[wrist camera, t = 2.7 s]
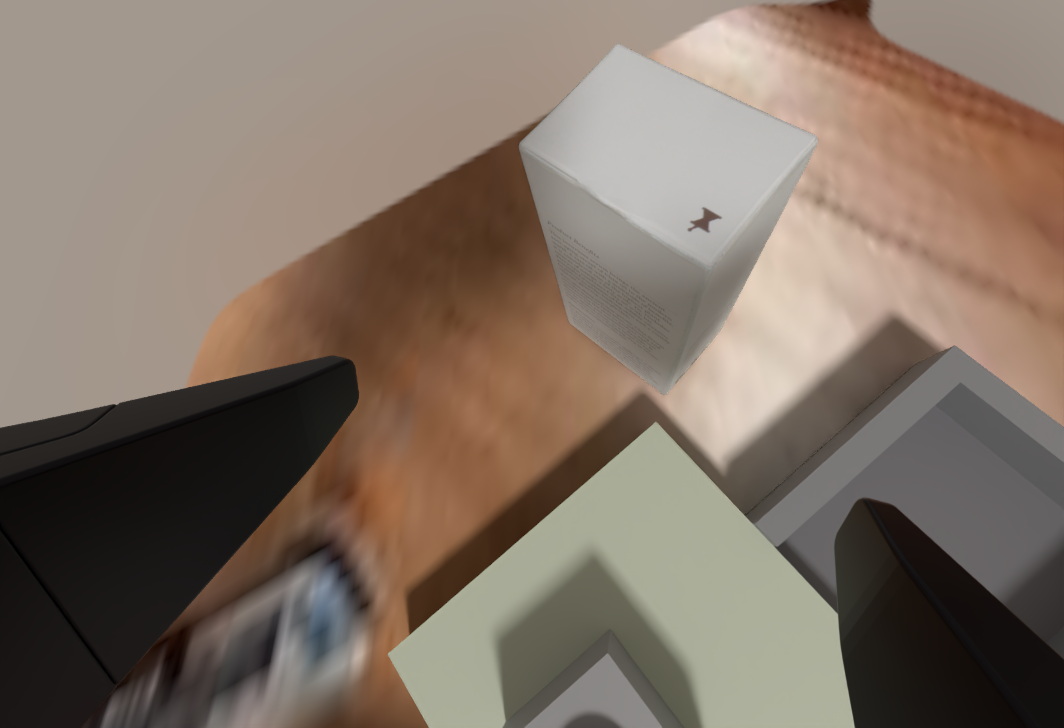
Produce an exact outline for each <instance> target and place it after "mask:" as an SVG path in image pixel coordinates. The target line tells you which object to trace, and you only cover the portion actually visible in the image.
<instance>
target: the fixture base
mask: <svg viewBox="0 0 1064 728" xmlns="http://www.w3.org/2000/svg"><path fill="white" fill-rule="evenodd" d="M862 497H867V498H871V499H875V500H879V501H883V502H886V503H890V504H892V505H894V506H895V507H897V508H898V509H899V510H900V511H901V512H902V513H903V514H904V515H906V516H907V517H908V518H909V519H910V520H911V521H912V522H913V523H914V524H916V525H917V526H918V527H919V528H920V529H921V530H922V531H923V532H924V533H925V534H927V535H928V536H929V537H930V538H931V539H932V540H933V541H934V542H935V543H937V544H938V545H939V546H940V547H941V548H942V549H943V550H944V551H945V552H946V553H948V554H949V555H950V556H951V557H952V558H953V559H954V560H955V561H956V562H958V563H959V564H960V565H961V566H962V567H963V568H964V569H965V570H966V571H967V572H969V573H970V574H971V575H972V576H973V577H974V578H975V579H976V580H977V581H978V582H980V583H981V584H982V585H983V586H984V587H985V588H986V589H987V590H988V591H990V592H991V593H992V594H993V595H994V596H995V597H996V598H997V599H998V600H999V601H1001V602H1002V603H1003V604H1004V605H1005V606H1006V607H1007V608H1008V609H1009V610H1011V611H1012V612H1013V613H1014V614H1015V615H1016V616H1017V617H1018V618H1019V619H1020V620H1022V621H1023V622H1024V623H1025V624H1026V625H1027V626H1028V627H1029V628H1030V629H1032V630H1033V631H1034V632H1035V633H1036V634H1037V635H1038V636H1039V637H1040V638H1041V639H1043V640H1044V641H1045V642H1046V643H1047V644H1048V645H1049V646H1050V647H1051V648H1053V649H1054V650H1055V651H1056V652H1057V653H1058V654H1059V655H1060V656H1061V657H1062V658H1064V427H1063V426H1061V425H1060V424H1059V423H1057V422H1056V421H1055V420H1053V419H1052V418H1051V417H1049V416H1048V415H1047V414H1045V413H1044V412H1043V411H1041V410H1040V409H1039V408H1037V407H1036V406H1035V405H1034V404H1032V403H1031V402H1030V401H1028V400H1027V399H1026V398H1024V397H1023V396H1022V395H1020V394H1019V393H1018V392H1016V391H1015V390H1014V389H1012V388H1011V387H1010V386H1008V385H1007V384H1006V383H1004V382H1003V381H1002V380H1000V379H999V378H998V377H996V376H995V375H994V374H992V373H991V372H990V371H988V370H987V369H986V368H984V367H983V366H982V365H980V364H979V363H978V362H976V361H975V360H974V359H972V358H971V357H970V356H968V355H967V354H966V353H964V352H963V351H962V350H960V349H959V348H958V347H956V346H955V345H954V346H952V347H950V348H948V349H946V350H944V351H942V352H940V353H938V354H936V355H934V356H932V357H930V358H928V359H926V360H923V361H921V362H919V363H917V364H915V365H914V366H913V367H912V368H911V369H910V370H908V371H907V372H906V373H905V374H904V375H903V376H902V377H901V378H899V379H898V380H897V381H896V382H895V383H894V384H893V385H892V386H890V387H889V388H888V389H887V390H886V391H885V392H884V393H883V394H881V395H880V396H879V397H878V398H877V399H876V400H875V401H874V402H872V403H871V404H870V405H869V406H868V407H867V408H866V409H865V410H863V411H862V412H861V413H860V414H859V415H858V416H857V417H856V418H855V419H853V420H852V421H851V422H850V423H849V424H848V425H847V426H846V427H844V428H843V429H842V430H841V431H840V432H839V433H838V434H837V435H835V436H834V437H833V438H832V439H831V440H830V441H829V442H828V443H826V444H825V445H824V446H823V447H822V448H821V449H820V450H819V451H817V452H816V453H815V454H814V455H813V456H812V457H811V458H810V459H808V460H807V461H806V462H805V463H804V464H803V465H802V466H801V467H800V468H798V469H797V470H796V471H795V472H794V473H793V474H792V475H791V476H789V477H788V478H787V479H786V480H785V481H784V482H783V483H782V484H780V485H779V486H778V487H777V488H776V489H775V490H774V491H773V492H771V493H770V494H769V495H768V496H767V497H766V498H765V499H764V500H762V501H761V502H760V503H759V504H758V505H757V506H756V507H755V508H753V509H752V510H751V511H750V512H749V513H748V514H747V515H746V516H745V515H744V514H743V513H742V512H741V511H740V510H739V509H738V508H737V507H736V506H735V505H734V504H733V503H732V502H731V501H730V500H729V498H728V497H727V496H726V495H725V494H724V493H723V492H722V491H721V490H720V489H719V488H718V487H717V486H716V485H715V484H714V483H713V482H712V480H711V479H710V478H709V477H708V476H707V475H706V474H705V473H704V472H703V471H702V470H701V469H700V468H699V467H698V466H697V465H696V464H695V462H694V461H693V460H692V459H691V458H690V457H689V456H688V455H687V454H686V453H685V452H684V451H683V450H682V449H681V448H680V447H679V446H678V444H677V443H676V442H675V441H674V440H673V439H672V438H671V437H670V436H669V435H668V434H667V433H666V432H665V431H664V430H663V429H662V428H661V426H660V425H659V424H658V423H657V422H655V423H654V424H653V425H652V426H650V427H649V428H648V429H647V430H646V431H645V432H644V433H642V434H641V435H640V436H639V437H638V438H637V439H635V440H634V441H633V442H632V443H631V444H630V445H629V446H627V447H626V448H625V449H624V450H623V451H622V452H620V453H619V454H618V455H617V456H616V457H615V458H614V459H612V460H611V461H610V462H609V463H608V464H607V465H605V466H604V467H603V468H602V469H601V470H600V471H599V472H597V473H596V474H595V475H594V476H593V477H592V478H590V479H589V480H588V481H587V482H586V483H585V484H584V485H582V486H581V487H580V488H579V489H578V490H577V491H575V492H574V493H573V494H572V495H571V496H570V497H568V498H567V499H566V500H565V501H564V502H563V503H562V504H560V505H559V506H558V507H557V508H556V509H555V510H553V511H552V512H551V513H550V514H549V515H548V516H547V517H545V518H544V519H543V520H542V521H541V522H540V523H538V524H537V525H536V526H535V527H534V528H533V529H532V530H530V531H529V532H528V533H527V534H526V535H525V536H523V537H522V538H521V539H520V540H519V541H518V542H517V543H515V544H514V545H513V546H512V547H511V548H510V549H508V550H507V551H506V552H505V553H504V554H503V555H502V556H500V557H499V558H498V559H497V560H496V561H495V562H493V563H492V564H491V565H490V566H489V567H488V568H487V569H485V570H484V571H483V572H482V573H481V574H480V575H478V576H477V577H476V578H475V579H474V580H473V581H472V582H470V583H469V584H468V585H467V586H466V587H465V588H463V589H462V590H461V591H460V592H459V593H458V594H457V595H455V596H454V597H453V598H452V599H451V600H450V601H448V602H447V603H446V604H445V605H444V606H443V607H442V608H440V609H439V610H438V611H437V612H436V613H435V614H433V615H432V616H431V617H430V618H429V619H428V620H427V621H425V622H424V623H423V624H422V625H421V626H420V627H418V628H417V629H416V630H415V631H414V632H413V633H412V634H410V635H409V636H408V637H407V638H406V639H405V640H403V641H402V642H401V643H400V644H399V645H398V646H397V647H395V648H394V649H393V650H392V651H391V652H390V653H388V656H389V657H390V659H391V661H392V663H393V664H394V666H395V668H396V670H397V672H398V673H399V675H400V677H401V679H402V680H403V682H404V684H405V686H406V688H407V689H408V691H409V693H410V695H411V697H412V698H413V700H414V702H415V704H416V705H417V707H418V709H419V711H420V713H421V714H422V716H423V718H424V720H425V721H426V723H427V725H428V727H429V728H855V726H854V721H853V715H852V710H851V704H850V699H849V693H848V688H847V682H846V677H845V671H844V666H843V660H842V653H841V647H840V637H839V625H838V608H837V591H836V574H835V557H834V541H835V537H836V534H837V532H838V530H839V528H840V527H841V525H842V523H843V522H844V520H845V518H846V517H847V515H848V513H849V511H850V510H851V508H852V506H853V505H854V503H855V502H856V501H857V500H858V499H859V498H862Z"/></svg>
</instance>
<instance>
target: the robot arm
mask: <svg viewBox="0 0 1064 728" xmlns="http://www.w3.org/2000/svg"><path fill="white" fill-rule="evenodd" d="M358 399H359V390H358V383H357V376H356V369H355V365H354V363H353V362H352V361H351V360H349V359H346V358H342V357H338V356H327V357H323V358H318V359H314V360H309V361H305V362H301V363H296V364H292V365H287V366H283V367H278V368H274V369H269V370H265V371H260V372H256V373H251V374H247V375H242V376H238V377H233V378H229V379H224V380H220V381H216V382H211V383H207V384H202V385H198V386H193V387H189V388H184V389H180V390H175V391H171V392H166V393H162V394H157V395H153V396H148V397H144V398H140V399H135V400H130V401H126V402H122V403H119V404H118V405H115V404H112V405H108V406H103V407H99V408H94V409H90V410H85V411H81V412H76V413H71V414H67V415H62V416H58V417H52V418H48V419H43V420H38V421H33V422H27V423H22V424H17V425H12V426H7V427H2V428H0V728H81V727H82V726H83V724H84V723H85V722H86V721H87V720H88V719H89V718H90V717H91V715H92V714H93V713H94V712H95V711H96V710H97V709H98V708H99V706H100V705H101V704H102V703H103V702H104V701H105V700H106V699H107V697H108V696H109V695H110V694H111V693H112V692H113V691H114V690H115V688H116V684H119V683H120V682H121V681H122V680H123V679H124V678H125V677H126V675H127V674H128V673H129V672H130V671H131V670H132V669H133V668H134V666H135V665H136V664H137V663H138V662H139V661H140V660H141V659H142V657H143V656H144V655H145V654H146V653H147V652H148V651H149V650H150V648H151V647H152V646H153V645H154V644H155V643H156V642H157V641H158V639H159V638H160V637H161V636H162V635H163V634H164V633H165V631H166V630H167V629H168V628H169V627H170V626H171V625H172V624H173V622H174V621H175V620H176V619H177V618H178V617H179V616H180V615H181V613H182V612H183V611H184V610H185V609H186V608H187V607H188V606H189V604H190V603H191V602H192V601H193V600H194V599H195V598H196V597H197V595H198V594H199V593H200V592H201V591H202V590H203V589H204V588H205V586H206V585H207V584H208V583H209V582H210V581H211V580H212V579H213V577H214V576H215V575H216V574H217V573H218V572H219V571H220V570H221V568H222V567H223V566H224V565H225V564H226V563H227V562H228V560H229V559H230V558H231V557H232V556H233V555H234V554H235V553H236V551H237V550H238V549H239V548H240V547H241V546H242V545H243V544H244V542H245V541H246V540H247V539H248V538H249V537H250V536H251V535H252V533H253V532H254V531H255V530H256V529H257V528H258V527H259V526H260V524H261V523H262V522H263V521H264V520H265V519H266V518H267V517H268V515H269V514H270V513H271V512H272V511H273V510H274V509H275V508H276V506H277V505H278V504H279V503H280V502H281V501H282V500H283V499H284V497H285V496H286V495H287V494H288V493H289V492H290V491H291V489H292V488H293V487H294V486H295V485H296V484H297V483H298V482H299V480H300V479H301V478H302V477H303V476H304V475H305V474H306V472H307V471H308V470H309V469H310V468H311V467H312V465H313V464H314V463H315V462H316V460H317V459H318V458H319V456H320V455H321V454H322V452H323V451H324V450H325V448H326V447H327V445H328V444H329V443H330V441H331V440H332V438H333V437H334V436H335V434H336V433H337V432H338V430H339V429H340V427H341V426H342V425H343V423H344V422H345V421H346V419H347V418H348V416H349V415H350V414H351V412H352V411H353V410H354V408H355V407H356V405H357V403H358ZM834 557H835V574H836V591H837V608H838V625H839V637H840V647H841V653H842V660H843V666H844V671H845V677H846V682H847V688H848V693H849V699H850V704H851V710H852V715H853V721H854V726H855V728H1064V658H1062V657H1061V656H1060V655H1059V654H1058V653H1057V652H1056V651H1055V650H1054V649H1053V648H1051V647H1050V646H1049V645H1048V644H1047V643H1046V642H1045V641H1044V640H1043V639H1041V638H1040V637H1039V636H1038V635H1037V634H1036V633H1035V632H1034V631H1033V630H1032V629H1030V628H1029V627H1028V626H1027V625H1026V624H1025V623H1024V622H1023V621H1022V620H1020V619H1019V618H1018V617H1017V616H1016V615H1015V614H1014V613H1013V612H1012V611H1011V610H1009V609H1008V608H1007V607H1006V606H1005V605H1004V604H1003V603H1002V602H1001V601H999V600H998V599H997V598H996V597H995V596H994V595H993V594H992V593H991V592H990V591H988V590H987V589H986V588H985V587H984V586H983V585H982V584H981V583H980V582H978V581H977V580H976V579H975V578H974V577H973V576H972V575H971V574H970V573H969V572H967V571H966V570H965V569H964V568H963V567H962V566H961V565H960V564H959V563H958V562H956V561H955V560H954V559H953V558H952V557H951V556H950V555H949V554H948V553H946V552H945V551H944V550H943V549H942V548H941V547H940V546H939V545H938V544H937V543H935V542H934V541H933V540H932V539H931V538H930V537H929V536H928V535H927V534H925V533H924V532H923V531H922V530H921V529H920V528H919V527H918V526H917V525H916V524H914V523H913V522H912V521H911V520H910V519H909V518H908V517H907V516H906V515H904V514H903V513H902V512H901V511H900V510H899V509H898V508H897V507H895V506H894V505H892V504H890V503H886V502H883V501H879V500H875V499H871V498H867V497H862V498H859V499H858V500H857V501H856V502H855V503H854V505H853V506H852V508H851V510H850V511H849V513H848V515H847V517H846V518H845V520H844V522H843V523H842V525H841V527H840V528H839V530H838V532H837V534H836V537H835V541H834Z"/></svg>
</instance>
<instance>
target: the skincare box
mask: <svg viewBox="0 0 1064 728" xmlns="http://www.w3.org/2000/svg"><path fill="white" fill-rule="evenodd" d="M817 142H818V139H817V137H816V136H815V135H813V134H811V133H809V132H807V131H805V130H803V129H800V128H798V127H796V126H793V125H791V124H789V123H787V122H784V121H782V120H780V119H778V118H776V117H773V116H771V115H769V114H767V113H765V112H763V111H761V110H759V109H756V108H754V107H752V106H750V105H747V104H745V103H743V102H741V101H739V100H737V99H735V98H733V97H731V96H728V95H726V94H724V93H722V92H720V91H718V90H716V89H714V88H711V87H709V86H707V85H705V84H703V83H701V82H699V81H697V80H694V79H692V78H690V77H688V76H686V75H684V74H681V73H679V72H677V71H675V70H673V69H671V68H668V67H666V66H664V65H662V64H660V63H658V62H656V61H654V60H652V59H650V58H647V57H645V56H643V55H641V54H639V53H637V52H634V51H632V50H630V49H628V48H627V47H625V46H623V45H621V44H617V45H615V46H614V47H613V48H612V49H611V51H610V52H609V53H608V54H607V55H606V56H605V57H604V58H603V59H602V60H601V61H600V62H599V63H598V64H597V65H596V66H595V67H594V68H593V69H592V71H591V72H590V73H589V74H588V75H587V76H586V77H585V78H584V79H583V80H582V81H581V82H580V83H579V84H578V85H577V86H576V88H574V89H573V90H572V91H571V92H570V93H569V94H568V95H567V96H566V97H565V99H563V100H562V101H561V102H560V103H559V104H558V105H557V106H556V107H555V108H554V109H553V110H552V111H551V112H550V113H549V114H548V115H547V116H546V117H545V118H544V119H543V120H542V121H541V122H540V123H539V124H538V125H537V126H536V127H535V128H534V129H533V130H532V131H531V132H530V133H529V134H528V135H527V136H526V137H525V138H524V139H523V140H522V141H521V142H520V144H519V151H520V154H521V158H522V162H523V165H524V168H525V171H526V175H527V179H528V182H529V185H530V189H531V193H532V196H533V199H534V202H535V206H536V210H537V213H538V217H539V220H540V223H541V227H542V230H543V234H544V237H545V241H546V244H547V248H548V251H549V255H550V259H551V262H552V265H553V269H554V272H555V276H556V279H557V283H558V286H559V289H560V293H561V297H562V300H563V303H564V307H565V311H566V314H567V318H568V321H569V323H570V324H571V325H573V326H574V327H575V328H577V329H578V330H579V331H580V332H582V333H583V334H584V335H586V336H587V337H588V338H590V339H591V340H592V341H593V342H595V343H596V344H597V345H599V346H600V347H601V348H603V349H604V350H605V351H607V352H608V353H609V354H610V355H612V356H613V357H614V358H616V359H617V360H618V361H620V362H621V363H622V364H623V365H625V366H626V367H627V368H629V369H630V370H631V371H633V372H634V373H635V374H637V375H638V376H639V377H641V378H642V379H643V380H644V381H646V382H647V383H648V384H650V385H651V386H652V387H654V388H655V389H656V390H658V391H659V392H660V393H661V394H663V395H666V394H667V393H668V392H669V391H670V390H671V388H672V387H673V386H674V385H675V384H676V383H677V381H678V380H679V379H680V378H681V377H682V376H683V375H684V374H685V372H686V371H687V370H688V369H689V368H690V367H691V365H692V364H693V363H694V362H695V361H696V359H697V358H698V357H699V356H700V355H701V353H702V352H703V351H704V350H705V348H706V347H707V346H708V345H709V344H710V342H711V341H712V340H713V339H714V338H715V336H716V335H717V334H718V333H719V332H720V330H721V329H722V327H723V325H724V323H725V321H726V319H727V317H728V315H729V313H730V312H731V310H732V308H733V306H734V304H735V302H736V300H737V298H738V296H739V294H740V292H741V291H742V289H743V287H744V285H745V283H746V281H747V279H748V277H749V275H750V273H751V271H752V269H753V268H754V266H755V264H756V262H757V260H758V258H759V256H760V254H761V252H762V250H763V248H764V246H765V244H766V242H767V240H768V239H769V237H770V235H771V233H772V231H773V229H774V227H775V225H776V223H777V221H778V219H779V218H780V216H781V214H782V212H783V210H784V208H785V206H786V204H787V202H788V200H789V198H790V196H791V194H792V192H793V190H794V188H795V186H796V184H797V183H798V181H799V179H800V177H801V175H802V173H803V171H804V170H805V168H806V166H807V164H808V162H809V160H810V158H811V156H812V154H813V152H814V150H815V148H816V146H817Z"/></svg>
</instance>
